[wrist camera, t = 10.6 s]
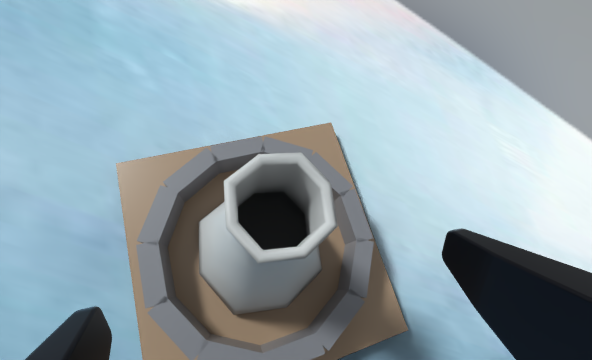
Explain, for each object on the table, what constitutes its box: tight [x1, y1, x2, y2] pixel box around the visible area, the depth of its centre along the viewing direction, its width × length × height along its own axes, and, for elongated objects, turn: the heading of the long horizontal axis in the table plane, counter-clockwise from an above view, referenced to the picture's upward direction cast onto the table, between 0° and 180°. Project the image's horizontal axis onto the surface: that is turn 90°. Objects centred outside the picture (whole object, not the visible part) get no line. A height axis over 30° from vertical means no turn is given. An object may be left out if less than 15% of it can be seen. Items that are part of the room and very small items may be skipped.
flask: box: [198, 153, 338, 315], centre depth 13 cm, size 7×7×10 cm
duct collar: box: [116, 123, 408, 360], centre depth 17 cm, size 14×14×3 cm
